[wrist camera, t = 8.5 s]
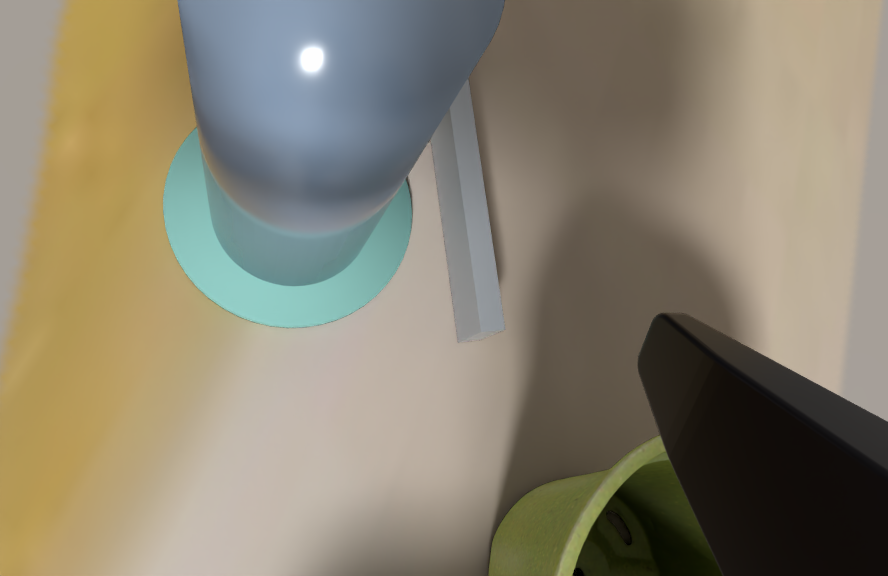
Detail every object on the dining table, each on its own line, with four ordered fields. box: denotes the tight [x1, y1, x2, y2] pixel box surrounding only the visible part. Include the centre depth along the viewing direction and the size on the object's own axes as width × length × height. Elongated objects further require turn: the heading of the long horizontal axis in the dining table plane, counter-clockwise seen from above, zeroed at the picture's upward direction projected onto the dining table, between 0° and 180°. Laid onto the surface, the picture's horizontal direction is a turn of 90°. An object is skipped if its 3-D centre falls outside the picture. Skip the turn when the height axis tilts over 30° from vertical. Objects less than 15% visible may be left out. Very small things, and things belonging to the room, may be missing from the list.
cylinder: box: [178, 0, 505, 286], centre depth 17 cm, size 5×5×13 cm
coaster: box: [163, 127, 412, 328], centre depth 23 cm, size 8×8×1 cm
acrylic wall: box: [431, 79, 505, 343], centre depth 24 cm, size 12×1×2 cm, turn 8°
